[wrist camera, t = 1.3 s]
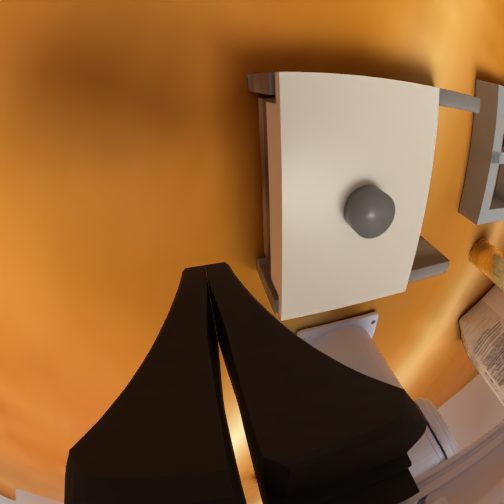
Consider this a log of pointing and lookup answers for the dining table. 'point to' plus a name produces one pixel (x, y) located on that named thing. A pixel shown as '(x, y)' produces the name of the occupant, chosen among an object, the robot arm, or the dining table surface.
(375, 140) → the lid
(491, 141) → the socket board
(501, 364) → the juice carton
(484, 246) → the pin
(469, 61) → the dining table surface
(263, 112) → the housing
